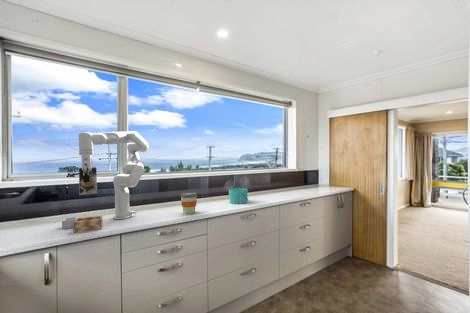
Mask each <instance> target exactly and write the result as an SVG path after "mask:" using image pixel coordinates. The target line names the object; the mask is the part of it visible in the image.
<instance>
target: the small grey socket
mask: <svg viewBox="0 0 470 313" xmlns="http://www.w3.org/2000/svg"><path fill="white" fill-rule="evenodd" d="M76 218H79V216H72V217H71V216H70V217H65V218H63V219H62V221H61V229H62V230H64V229H65V230H66V229H72V228H73V229H74V221H75V220H76Z"/></svg>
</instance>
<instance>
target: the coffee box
mask: <svg viewBox="0 0 470 313" xmlns="http://www.w3.org/2000/svg"><path fill="white" fill-rule="evenodd" d="M87 170H88V168H87ZM83 171H84V169H83ZM83 171H82V167H78V176H79V177H78V192H79V193H78V194H79V196H85V195H95V194H98V190H97V189H98V187H97V186H98V184H97V183H98V182H97V178H98V176H97V167H96V166H94V167H93V168H92V171H90V170H89V175H90V182H83Z"/></svg>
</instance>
